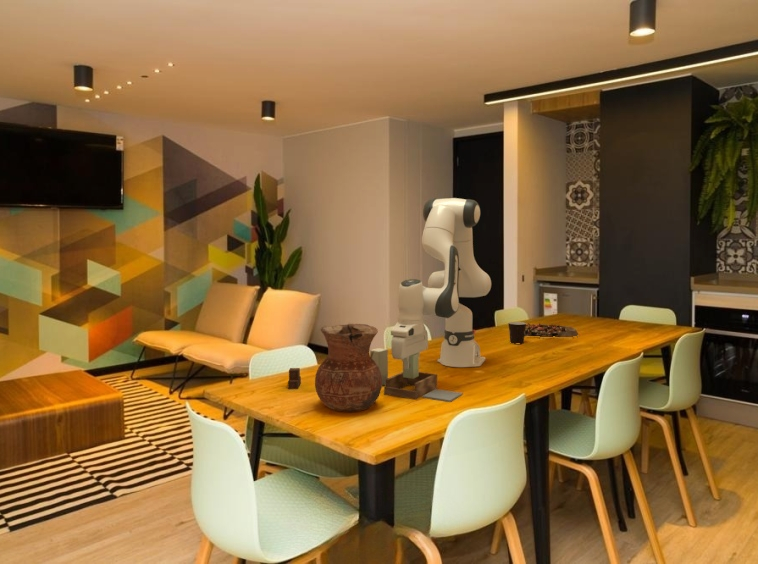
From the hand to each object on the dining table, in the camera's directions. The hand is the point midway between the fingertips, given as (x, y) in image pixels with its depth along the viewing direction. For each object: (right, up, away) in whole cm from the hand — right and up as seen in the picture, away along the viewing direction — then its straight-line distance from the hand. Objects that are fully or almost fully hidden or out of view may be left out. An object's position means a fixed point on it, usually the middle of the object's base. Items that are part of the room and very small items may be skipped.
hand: (410, 367), depth 201 cm
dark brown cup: (+57, -1, +88) cm, 105 cm away
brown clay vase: (-21, -10, -17) cm, 28 cm away
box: (-11, -8, +9) cm, 16 cm away
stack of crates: (-40, -9, +7) cm, 41 cm away
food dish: (+79, 0, +116) cm, 140 cm away
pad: (+10, -9, -6) cm, 15 cm away
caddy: (0, -8, 0) cm, 8 cm away
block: (0, -3, 0) cm, 3 cm away
